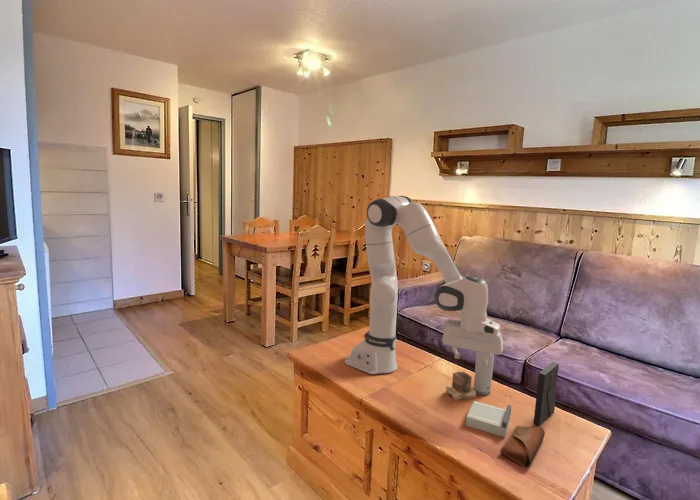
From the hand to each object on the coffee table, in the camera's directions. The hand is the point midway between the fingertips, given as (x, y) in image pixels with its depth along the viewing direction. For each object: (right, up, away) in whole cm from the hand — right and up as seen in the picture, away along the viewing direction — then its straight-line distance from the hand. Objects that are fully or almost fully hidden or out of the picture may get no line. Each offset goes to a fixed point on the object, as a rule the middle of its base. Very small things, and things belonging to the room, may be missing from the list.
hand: (470, 361), depth 138 cm
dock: (+3, -18, -9) cm, 20 cm away
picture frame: (+23, -18, -5) cm, 30 cm away
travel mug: (+8, -15, +12) cm, 21 cm away
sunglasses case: (+7, -20, -21) cm, 30 cm away
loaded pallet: (-1, -15, +9) cm, 18 cm away
